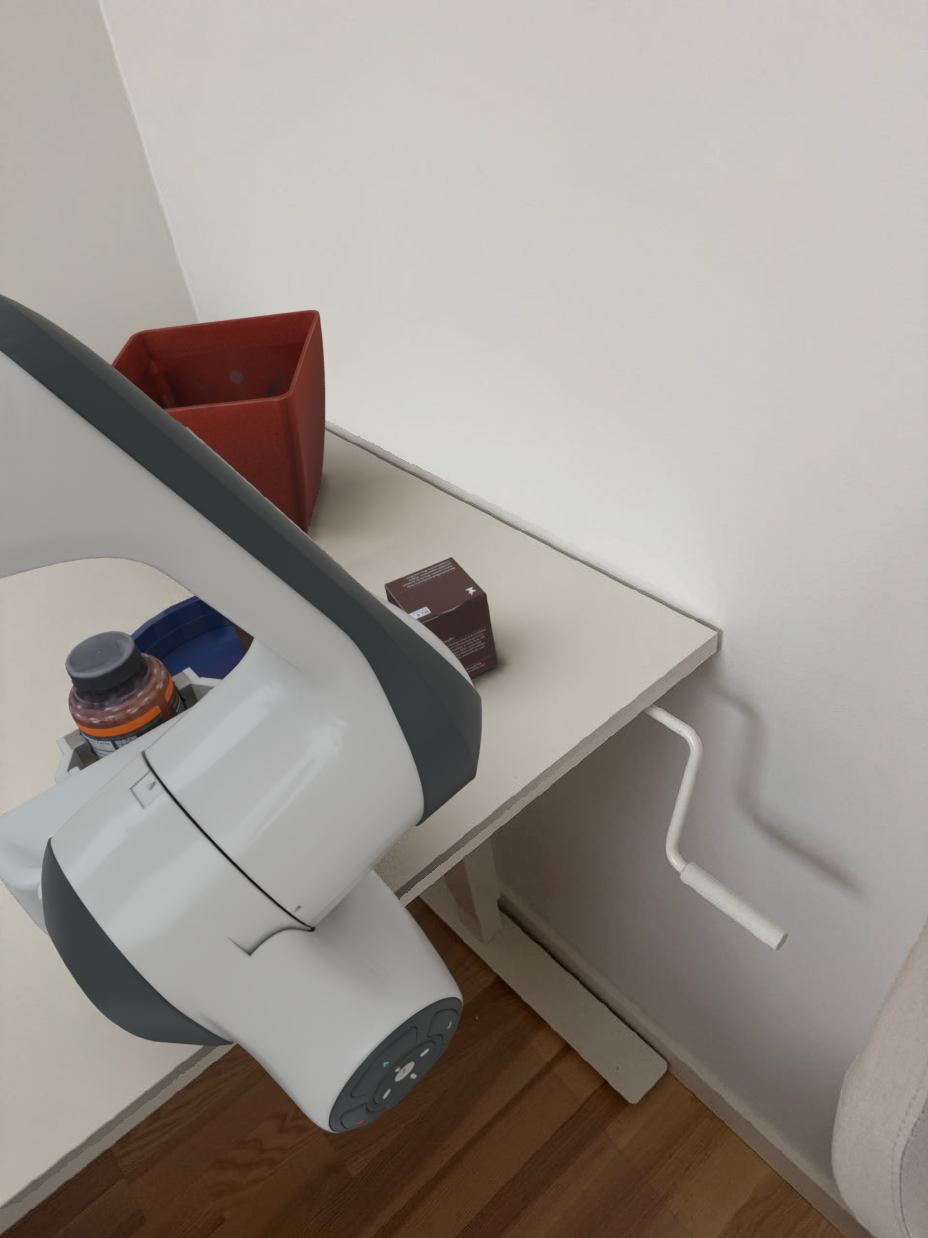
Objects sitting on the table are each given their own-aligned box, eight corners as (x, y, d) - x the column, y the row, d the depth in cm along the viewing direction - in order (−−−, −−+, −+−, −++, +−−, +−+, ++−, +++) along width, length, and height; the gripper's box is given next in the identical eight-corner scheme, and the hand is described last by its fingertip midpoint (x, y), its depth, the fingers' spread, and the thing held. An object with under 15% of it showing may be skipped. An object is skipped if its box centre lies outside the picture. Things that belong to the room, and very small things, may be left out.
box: (466, 627, 79) (453, 554, 74) (500, 667, 74) (489, 593, 70) (399, 655, 77) (381, 583, 72) (429, 698, 72) (413, 624, 68)
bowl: (250, 803, 67) (233, 764, 64) (75, 738, 75) (55, 701, 72) (382, 646, 78) (372, 608, 76) (218, 604, 86) (205, 568, 83)
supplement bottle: (183, 736, 65) (122, 605, 58) (231, 778, 61) (172, 643, 54) (104, 789, 62) (30, 658, 55) (149, 837, 58) (76, 702, 51)
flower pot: (334, 560, 89) (289, 394, 78) (137, 580, 91) (68, 421, 80) (356, 458, 104) (320, 306, 93) (187, 477, 106) (133, 330, 95)
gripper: (381, 695, 51) (260, 591, 60) (10, 927, 43) (-65, 764, 52) (403, 774, 55) (286, 665, 64) (66, 1001, 47) (-12, 837, 56)
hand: (127, 711), depth 58 cm, fingers closed on supplement bottle, 6 cm apart
